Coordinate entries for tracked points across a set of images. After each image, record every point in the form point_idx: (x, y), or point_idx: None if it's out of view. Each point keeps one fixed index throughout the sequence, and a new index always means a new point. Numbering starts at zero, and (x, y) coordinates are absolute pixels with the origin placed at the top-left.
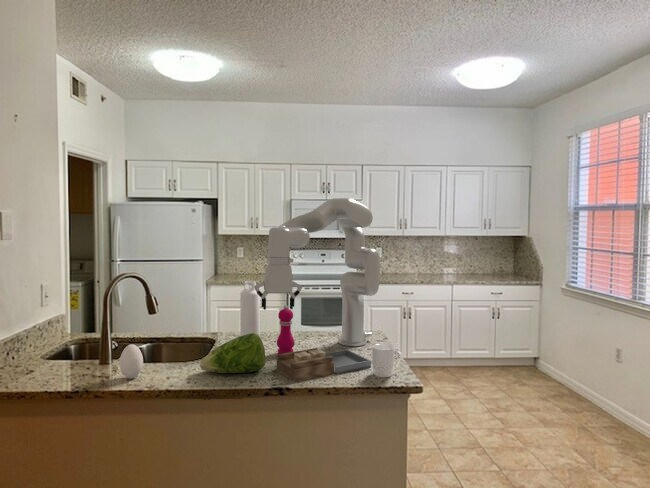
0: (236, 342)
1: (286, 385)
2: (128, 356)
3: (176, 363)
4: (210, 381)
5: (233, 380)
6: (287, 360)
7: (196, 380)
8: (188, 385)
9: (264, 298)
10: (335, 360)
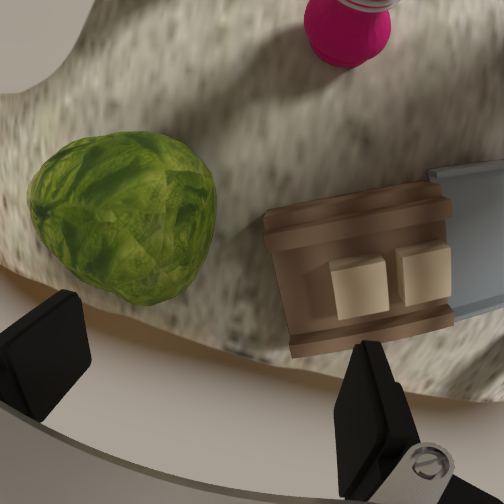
0: (66, 259)
1: (266, 351)
2: None
3: (10, 99)
4: None
5: None
6: (301, 256)
7: None
8: (41, 265)
9: (18, 407)
10: (488, 206)
